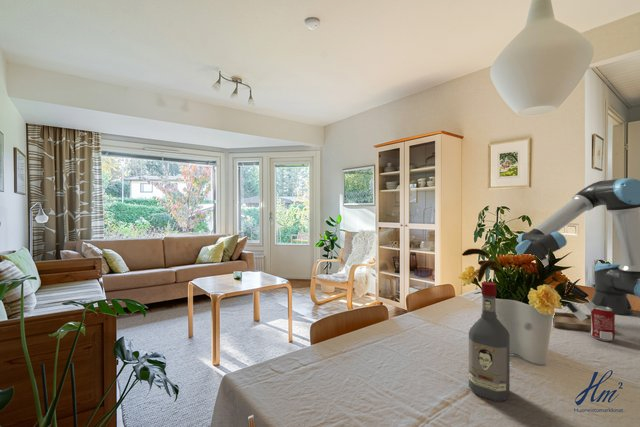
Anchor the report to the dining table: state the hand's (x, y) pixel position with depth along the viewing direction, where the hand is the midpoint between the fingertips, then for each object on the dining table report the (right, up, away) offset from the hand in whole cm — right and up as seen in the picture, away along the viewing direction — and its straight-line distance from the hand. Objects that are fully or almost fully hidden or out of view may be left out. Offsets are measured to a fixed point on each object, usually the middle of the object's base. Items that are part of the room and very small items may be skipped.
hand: (591, 316), depth 120 cm
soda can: (+3, -8, -2) cm, 9 cm away
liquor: (-60, -9, -35) cm, 70 cm away
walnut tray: (+4, -8, +13) cm, 16 cm away
